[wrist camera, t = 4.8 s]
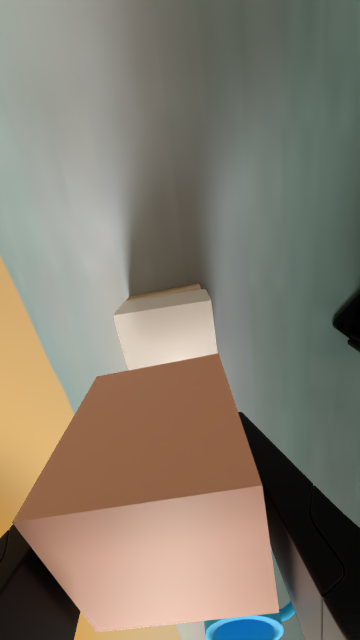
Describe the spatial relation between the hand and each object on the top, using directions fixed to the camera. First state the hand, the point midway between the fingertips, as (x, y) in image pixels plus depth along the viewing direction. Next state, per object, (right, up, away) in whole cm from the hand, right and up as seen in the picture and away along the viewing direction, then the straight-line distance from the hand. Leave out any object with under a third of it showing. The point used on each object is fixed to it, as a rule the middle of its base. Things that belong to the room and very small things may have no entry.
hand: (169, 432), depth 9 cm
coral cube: (0, 0, +1) cm, 1 cm away
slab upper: (0, +3, +9) cm, 9 cm away
